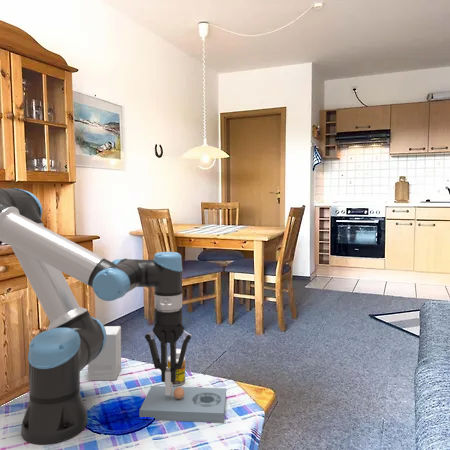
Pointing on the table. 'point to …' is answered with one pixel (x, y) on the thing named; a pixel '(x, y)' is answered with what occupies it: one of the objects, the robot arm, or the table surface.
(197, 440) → the table surface
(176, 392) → the ball
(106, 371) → the supplement box
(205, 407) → the plate
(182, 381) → the supplement bottle
